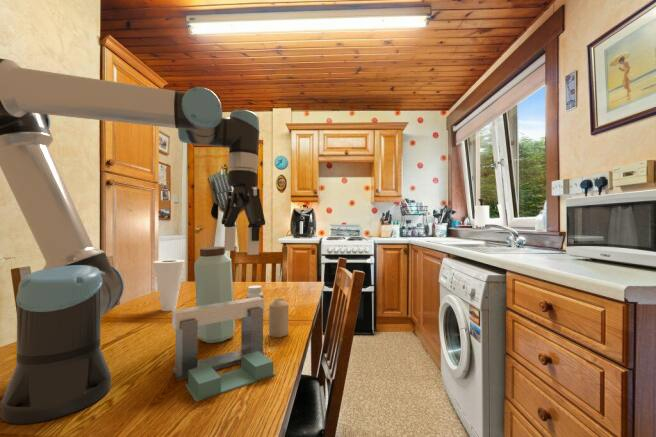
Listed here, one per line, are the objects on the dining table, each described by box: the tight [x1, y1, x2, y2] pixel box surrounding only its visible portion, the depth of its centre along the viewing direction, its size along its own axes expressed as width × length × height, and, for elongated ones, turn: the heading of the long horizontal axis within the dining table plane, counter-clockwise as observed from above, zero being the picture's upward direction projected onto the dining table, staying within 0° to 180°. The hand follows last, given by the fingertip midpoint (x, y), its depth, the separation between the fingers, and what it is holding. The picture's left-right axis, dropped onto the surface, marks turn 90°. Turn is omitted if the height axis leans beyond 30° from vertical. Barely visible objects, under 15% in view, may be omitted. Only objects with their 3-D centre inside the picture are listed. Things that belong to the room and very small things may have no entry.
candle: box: [268, 298, 289, 338], centre depth 91 cm, size 6×6×10 cm
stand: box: [172, 308, 265, 382], centre depth 71 cm, size 19×6×12 cm, turn 128°
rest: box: [185, 351, 276, 403], centre depth 64 cm, size 16×7×3 cm, turn 128°
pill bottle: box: [246, 285, 264, 299], centre depth 110 cm, size 6×6×10 cm
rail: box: [171, 297, 265, 332], centre depth 72 cm, size 20×3×4 cm, turn 128°
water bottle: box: [193, 246, 236, 344], centre depth 87 cm, size 10×10×25 cm
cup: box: [152, 259, 186, 312], centre depth 118 cm, size 11×11×18 cm
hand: (240, 252), depth 82 cm, fingers open, 13 cm apart
